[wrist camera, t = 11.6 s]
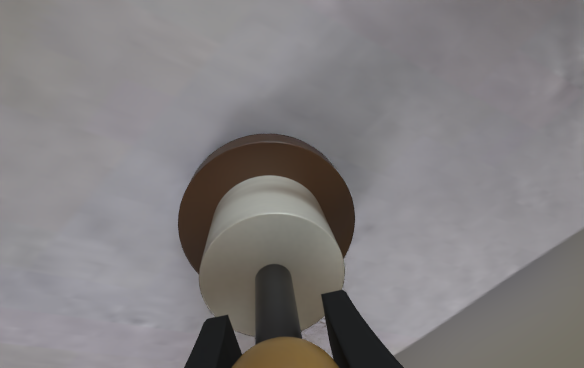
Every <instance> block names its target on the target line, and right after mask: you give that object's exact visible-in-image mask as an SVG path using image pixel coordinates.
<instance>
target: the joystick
mask: <svg viewBox="0 0 584 368" xmlns="http://www.w3.org/2000/svg"><path fill="white" fill-rule="evenodd" d="M354 225H355V212H354V205H353V201H352V197H351V195H350V192H349V189H348V187H347V185H346V184H345V182H344V180H343V178H342V177H341V176H340V174H339V173H338V172H337V170H336V169H335V168H334V166H333V165H332V164H331V162H330V161H329V160H328V159H327V158H326V157H325V156H324V155H323V154H322V153H320V152H319V151H318V150H317V149H315V148H314V147H312V146H310V145H309V144H307V143H305V142H303V141H301V140H298V139H296V138H292V137H289V136H285V135H278V134H256V135H249V136H246V137H242V138H238V139H236V140H234V141H231V142H229V143H227V144H225V145H224V146H222V147H220V148H218V149H217V150H216V151H215V152H213V153H212V154H211V155H209V156H208V158H207V159H206V160H205V161H204V162H203V163H202V164H201V165H200V167H199V168H198V169H197V171H196V172H195V174H194V176H193V178H192V180H191V182H190V183H189V185H188V187H187V189H186V191H185V193H184V196H183V198H182V201H181V204H180V209H179V215H178V230H179V238H180V241H181V245H182V248H183V250H184V253H185V255H186V257H187V259H188V261H189V262H190V264H191V266H192V267H193V268H194V269H195V271H196V272H197V273H198V274H199V286H200V290H201V294H202V297H203V299H204V302H205V304H206V305H207V307H208V309H209V310H210V311H211V313H212V314H213V315H214V316H215V317H219V316H224V315H228V316H229V319H230V322H231V325H232V328H233V330H235V331H237V332H240V333H242V334H245V335H249V336H254V337H255V346H253V347H251V348H250V349H249V350H247V351H246V352H245V353H244V354H243V355H242V356H241V357H240V358H239V359H238V360H237V361H236V362H235V363H234V365H233V366H232V367H231V368H339V366H338V365H337V364H336V362H335V361H334V360H333V359H332V358H331V357H330V356H329V355H328V354H327V353H326V352H325V351H324V350H323V349H321V348H320V347H318V346H317V345H315V344H313V343H311V342H309V341H307V340H304V339H302V334H301V331H303V330H305V329H307V328H309V327H310V326H312V325H314V324H315V323H317V322H318V321H319V320H320V319H322V318H323V317H324V316H325V314H324V308H323V303H322V297H321V294H324V293H329V292H333V291H338V290H342V287H343V283H344V276H345V267H344V260H343V259H344V257H345V255H346V253H347V251H348V249H349V246H350V244H351V241H352V237H353V233H354Z"/></svg>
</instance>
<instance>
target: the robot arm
mask: <svg viewBox="0 0 584 368" xmlns="http://www.w3.org/2000/svg"><path fill="white" fill-rule="evenodd" d="M321 297H322V303H323V308H324V314H325V320H326V325H327V331H328V336H329V342H330V346H331V351H332V355H333V359H334V361H335V362H336V364H337V365H338V366H339V368H404V367H403V366H402V365H401V364H400V363H399V362H398V361H397V360H396V359H395V357H394V356H393V355H392V354H391V353H390V352H389V350H388V349H387V348H386V347H385V346H384V344H383V343H382V342H381V341H380V340H379V338H378V337H377V336H376V335H375V333H374V332H373V331H372V330H371V328H370V327H369V326H368V324H367V323H366V322H365V320H364V319H363V318H362V316H361V315H360V313H359V312H358V311H357V309H356V308H355V306H354V305H353V303H352V301H351V300H350V298H349V297H348V295H347V293H346V292H345V291H343V290H338V291H333V292H329V293H324V294H321ZM241 356H242V353H241V350H240V348H239V345H238V342H237V339H236V336H235V333H234V330H233V328H232V325H231V322H230V319H229V316H228V315H224V316H219V317H214V318H210V319H207V320H206V321H205V322H204V324H203V326H202V329H201V331H200V334H199V336H198V338H197V341H196V343H195V345H194V347H193V350H192V352H191V354H190V356H189V358H188V361H187V363H186V365H185V367H184V368H231V367H232V366H233V365H234V363H235V362H236V361H237V360H238V359H239V358H240V357H241Z"/></svg>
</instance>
